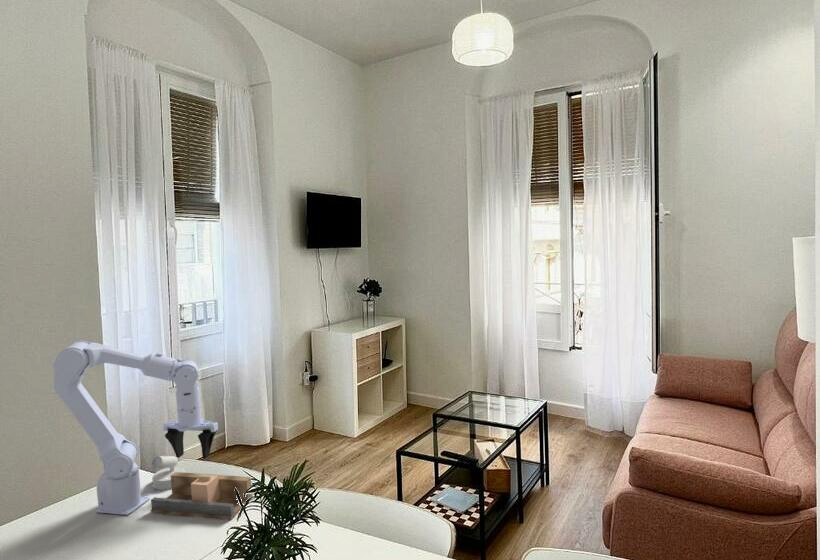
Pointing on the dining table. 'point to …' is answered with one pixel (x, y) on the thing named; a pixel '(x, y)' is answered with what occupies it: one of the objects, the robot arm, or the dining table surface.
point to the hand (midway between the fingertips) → (193, 456)
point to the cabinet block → (206, 488)
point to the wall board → (227, 495)
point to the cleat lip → (192, 506)
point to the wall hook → (165, 471)
